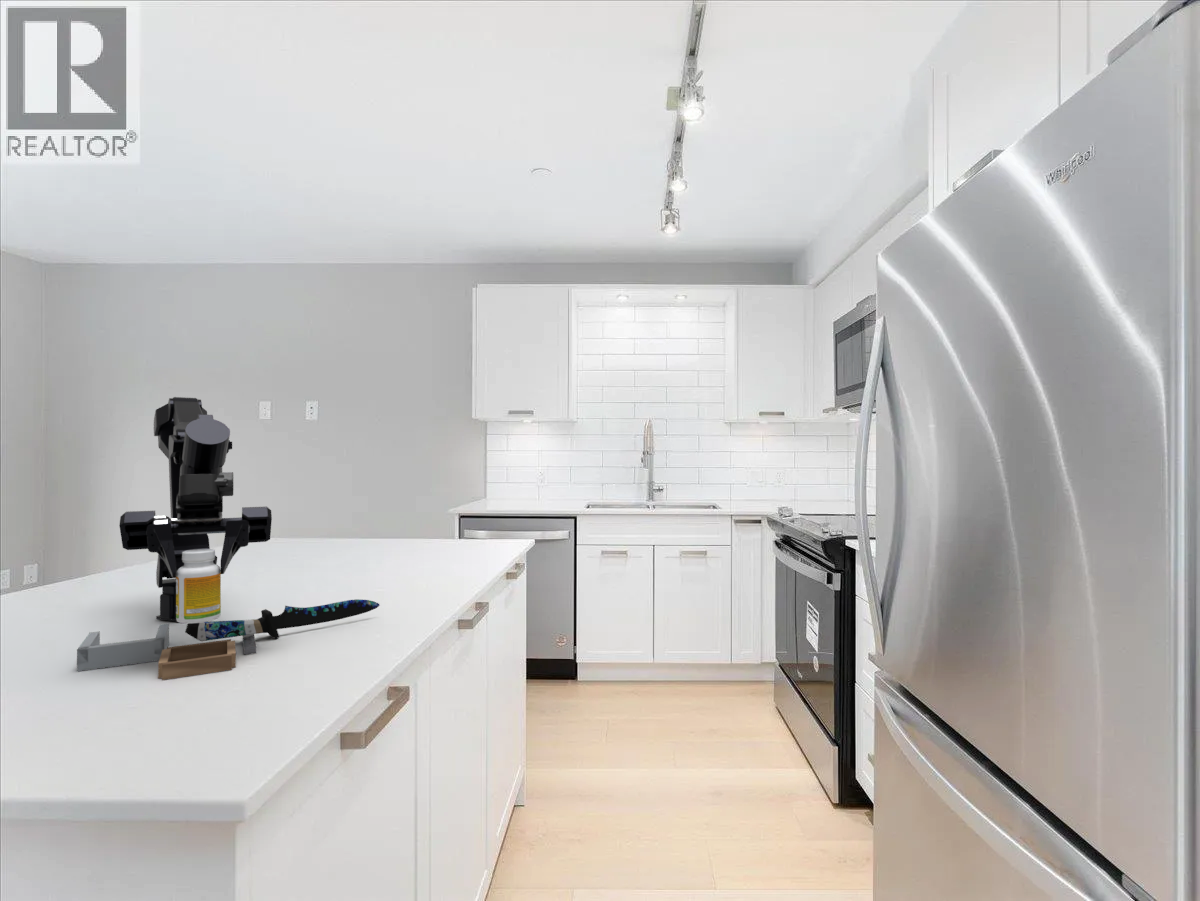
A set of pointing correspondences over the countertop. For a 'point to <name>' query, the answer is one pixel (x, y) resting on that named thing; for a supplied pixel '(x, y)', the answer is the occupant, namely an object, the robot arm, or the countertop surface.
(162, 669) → the socket collar
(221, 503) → the robot arm
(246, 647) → the bar
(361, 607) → the knife
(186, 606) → the supplement bottle
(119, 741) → the countertop surface
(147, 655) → the tray
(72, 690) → the countertop surface
